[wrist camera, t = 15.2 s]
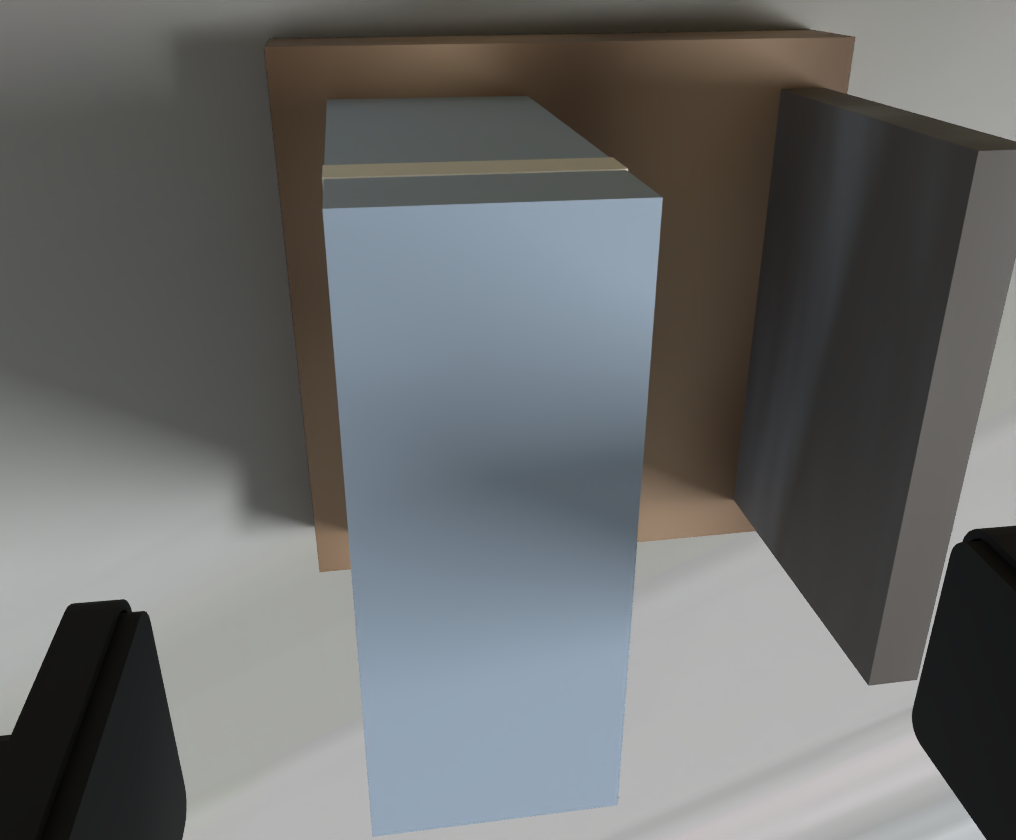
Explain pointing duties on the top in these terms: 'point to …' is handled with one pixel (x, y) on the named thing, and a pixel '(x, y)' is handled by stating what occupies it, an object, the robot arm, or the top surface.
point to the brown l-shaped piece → (735, 291)
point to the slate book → (488, 448)
